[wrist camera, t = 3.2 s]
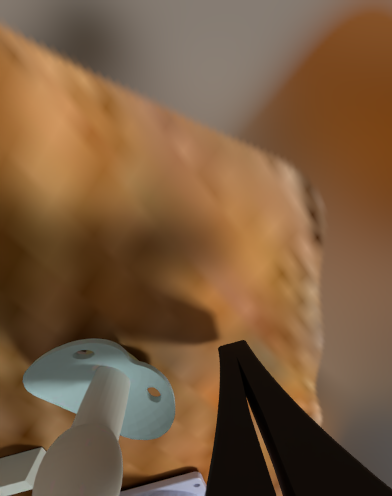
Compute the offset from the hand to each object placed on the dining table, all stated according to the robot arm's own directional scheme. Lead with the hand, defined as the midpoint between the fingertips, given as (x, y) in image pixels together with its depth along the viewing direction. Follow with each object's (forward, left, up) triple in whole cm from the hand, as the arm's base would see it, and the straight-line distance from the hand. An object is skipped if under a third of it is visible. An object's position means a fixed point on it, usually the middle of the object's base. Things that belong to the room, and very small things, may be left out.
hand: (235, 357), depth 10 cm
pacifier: (0, +7, -2) cm, 8 cm away
